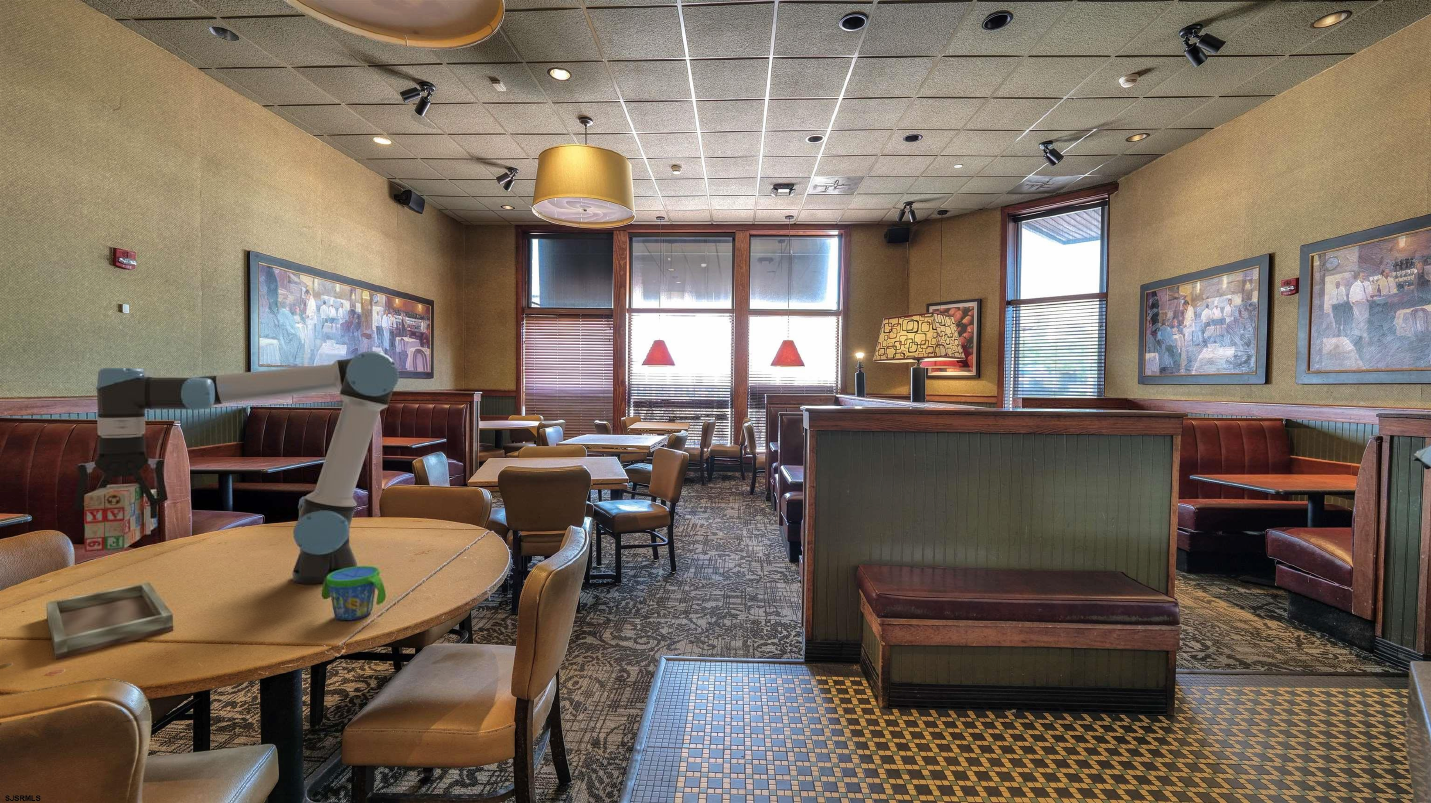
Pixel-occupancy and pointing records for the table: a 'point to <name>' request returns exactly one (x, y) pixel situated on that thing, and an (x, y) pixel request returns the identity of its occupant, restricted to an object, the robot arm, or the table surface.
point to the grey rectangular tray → (106, 619)
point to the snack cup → (353, 591)
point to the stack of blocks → (115, 517)
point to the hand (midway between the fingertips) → (122, 535)
